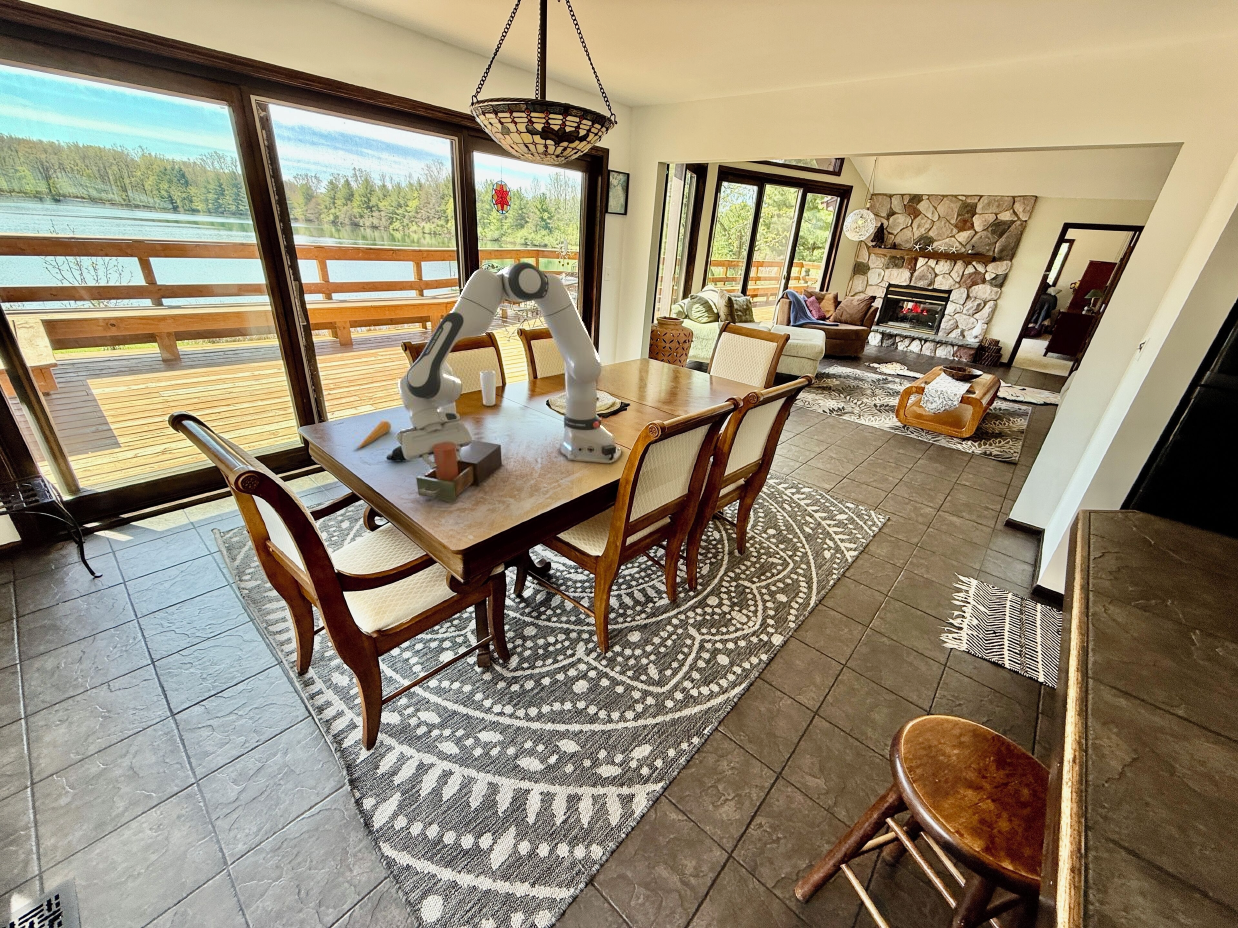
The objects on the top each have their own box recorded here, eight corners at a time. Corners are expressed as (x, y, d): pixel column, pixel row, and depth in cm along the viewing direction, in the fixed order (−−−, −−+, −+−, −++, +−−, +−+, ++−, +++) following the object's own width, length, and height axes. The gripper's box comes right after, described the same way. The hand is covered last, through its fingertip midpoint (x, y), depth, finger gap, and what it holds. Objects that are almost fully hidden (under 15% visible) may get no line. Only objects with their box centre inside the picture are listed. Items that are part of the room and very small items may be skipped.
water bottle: (444, 414, 205) (438, 355, 194) (459, 415, 204) (453, 357, 194) (435, 421, 197) (428, 360, 186) (450, 422, 197) (444, 362, 186)
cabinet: (478, 485, 150) (476, 463, 147) (442, 479, 153) (439, 456, 150) (501, 465, 164) (500, 444, 161) (468, 459, 167) (466, 438, 163)
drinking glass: (485, 401, 223) (483, 369, 217) (499, 402, 222) (497, 371, 216) (479, 405, 217) (477, 373, 210) (493, 407, 216) (492, 374, 210)
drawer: (445, 509, 135) (443, 490, 133) (409, 501, 137) (406, 483, 135) (479, 480, 152) (478, 463, 149) (446, 474, 154) (444, 457, 151)
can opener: (401, 466, 159) (398, 451, 156) (384, 462, 161) (382, 447, 158) (437, 447, 174) (435, 433, 171) (421, 444, 176) (419, 429, 174)
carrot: (385, 430, 186) (379, 420, 184) (395, 428, 185) (388, 417, 183) (355, 456, 169) (348, 445, 167) (365, 453, 168) (358, 442, 166)
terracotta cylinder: (463, 482, 147) (460, 443, 142) (451, 491, 142) (447, 451, 136) (445, 478, 149) (440, 440, 143) (432, 488, 143) (428, 448, 138)
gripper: (395, 426, 135) (414, 470, 133) (463, 412, 148) (481, 452, 146) (391, 436, 140) (410, 478, 138) (457, 422, 153) (475, 460, 151)
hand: (447, 464), depth 142 cm, fingers closed on terracotta cylinder, 6 cm apart
